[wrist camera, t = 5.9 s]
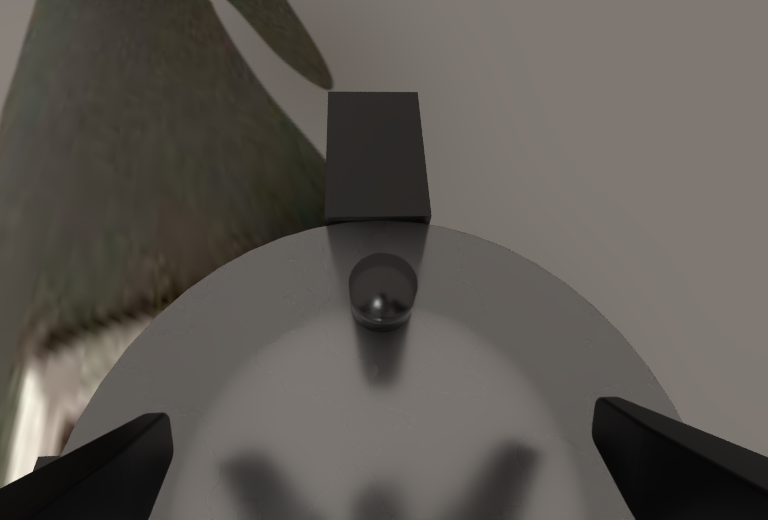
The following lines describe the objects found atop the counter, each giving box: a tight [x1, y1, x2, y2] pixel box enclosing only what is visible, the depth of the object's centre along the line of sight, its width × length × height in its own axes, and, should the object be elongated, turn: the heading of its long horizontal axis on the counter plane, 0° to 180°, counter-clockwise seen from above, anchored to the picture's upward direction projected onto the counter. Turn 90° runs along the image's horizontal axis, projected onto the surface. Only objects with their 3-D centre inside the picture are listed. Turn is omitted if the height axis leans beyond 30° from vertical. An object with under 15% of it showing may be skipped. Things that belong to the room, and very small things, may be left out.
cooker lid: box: [60, 92, 683, 520], centre depth 10 cm, size 19×14×2 cm
